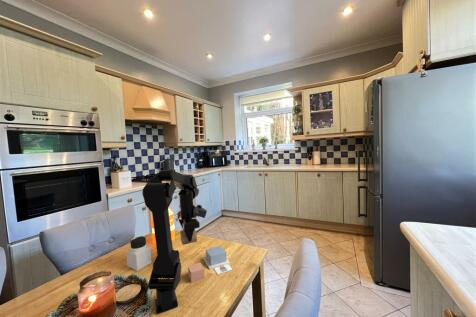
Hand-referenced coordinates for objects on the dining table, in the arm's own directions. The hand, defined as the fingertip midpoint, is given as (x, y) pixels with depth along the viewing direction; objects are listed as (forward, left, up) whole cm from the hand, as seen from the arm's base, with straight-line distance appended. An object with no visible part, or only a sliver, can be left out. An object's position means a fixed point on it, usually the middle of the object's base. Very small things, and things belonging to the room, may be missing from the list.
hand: (188, 238), depth 89 cm
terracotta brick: (-12, 0, -11) cm, 16 cm away
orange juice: (+28, +8, -11) cm, 31 cm away
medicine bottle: (+9, +20, -11) cm, 25 cm away
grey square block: (-6, -10, -11) cm, 16 cm away
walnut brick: (0, 0, -1) cm, 1 cm away
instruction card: (-13, -11, -11) cm, 20 cm away
